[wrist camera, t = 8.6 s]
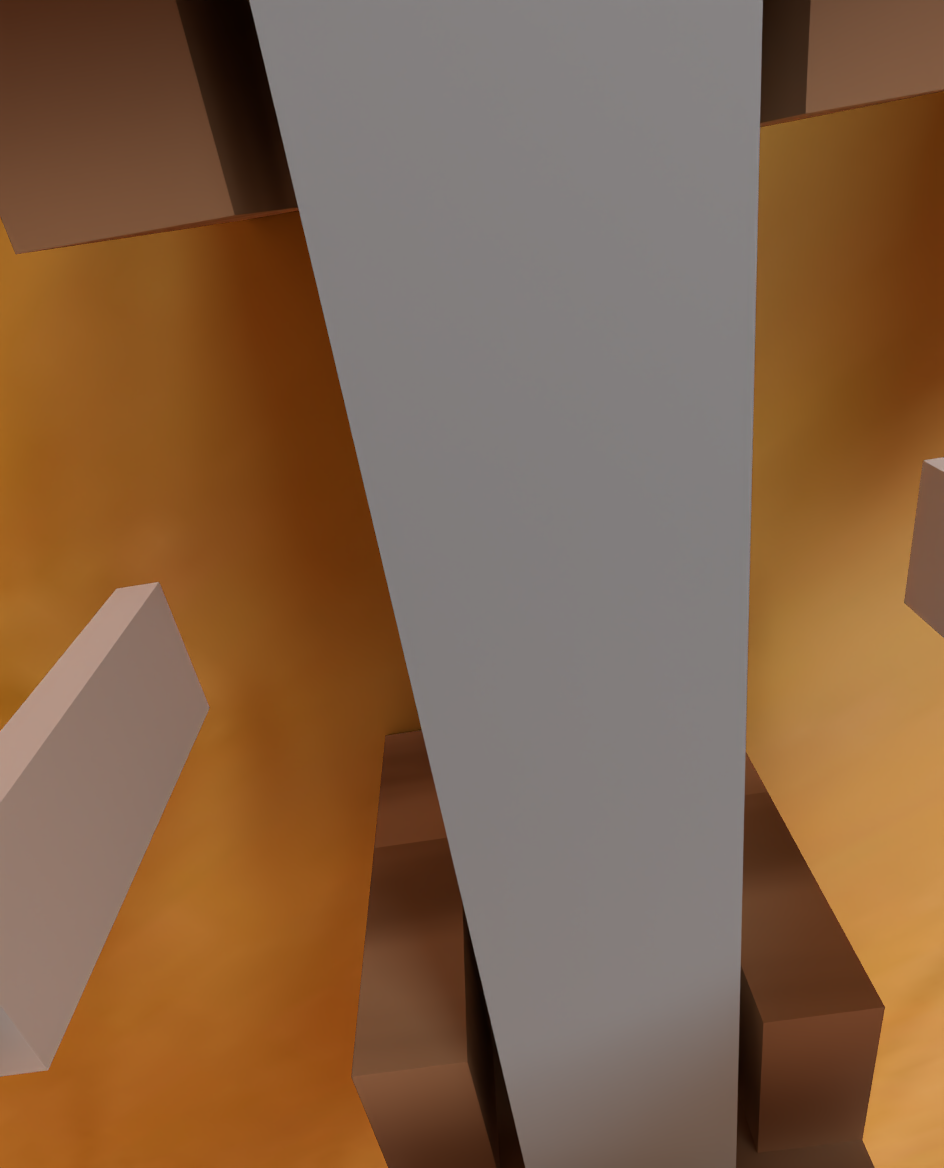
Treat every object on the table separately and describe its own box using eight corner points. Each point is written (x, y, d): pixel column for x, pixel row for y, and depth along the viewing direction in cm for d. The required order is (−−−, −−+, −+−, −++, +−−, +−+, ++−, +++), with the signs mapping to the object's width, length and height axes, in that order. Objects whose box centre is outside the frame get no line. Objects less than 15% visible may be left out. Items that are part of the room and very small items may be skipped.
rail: (321, -25, 10) (181, -282, 4) (590, -76, 10) (773, -402, 4) (510, 929, 19) (537, 1224, 13) (650, 910, 18) (735, 1200, 13)
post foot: (385, 735, 21) (327, 1310, 10) (710, 687, 20) (1005, 1230, 10) (419, 861, 23) (401, 1436, 12) (711, 820, 23) (950, 1374, 12)
